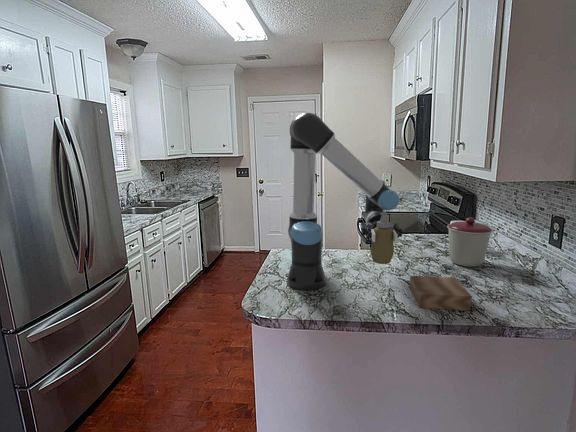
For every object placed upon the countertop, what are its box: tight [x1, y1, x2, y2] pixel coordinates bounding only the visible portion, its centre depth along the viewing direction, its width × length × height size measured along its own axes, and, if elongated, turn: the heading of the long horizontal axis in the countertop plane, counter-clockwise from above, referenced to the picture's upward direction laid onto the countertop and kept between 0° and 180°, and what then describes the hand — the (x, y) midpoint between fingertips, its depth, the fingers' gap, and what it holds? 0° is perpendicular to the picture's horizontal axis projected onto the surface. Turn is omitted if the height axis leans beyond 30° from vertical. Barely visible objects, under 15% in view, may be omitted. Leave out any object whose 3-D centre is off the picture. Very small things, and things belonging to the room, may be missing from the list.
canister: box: [446, 217, 494, 268], centre depth 157 cm, size 18×18×21 cm
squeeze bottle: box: [370, 210, 395, 265], centre depth 122 cm, size 8×8×18 cm
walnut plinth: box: [409, 275, 473, 311], centre depth 123 cm, size 16×16×5 cm
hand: (385, 238), depth 117 cm, fingers closed on squeeze bottle, 6 cm apart
